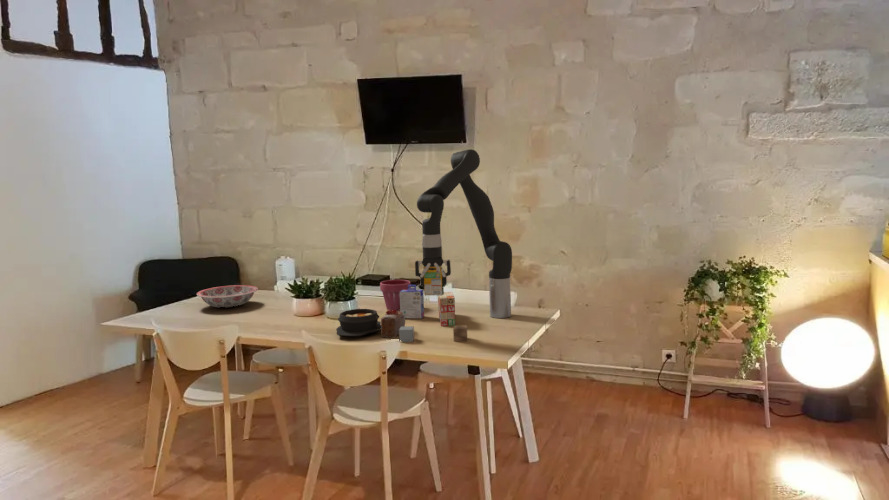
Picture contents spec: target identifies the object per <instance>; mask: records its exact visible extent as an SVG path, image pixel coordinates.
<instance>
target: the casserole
mask: <svg viewBox="0 0 889 500" xmlns="http://www.w3.org/2000/svg"><path fill="white" fill-rule="evenodd" d="M379 319H380V315H379V314H378V312H377V310H374V309H371V308H355V309H354V308H353V309H349V310H344V311H341V312H340V314H339V317H338V318H337V322H339V324H340V325H339V326H338V327H337V328H336V330H335V331H336V335H337V336H342V337H361V336H366V335H371V334H372V333H375V332H376V331H380V330H381V321H379Z"/></svg>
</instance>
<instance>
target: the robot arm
mask: <svg viewBox="0 0 889 500" xmlns="http://www.w3.org/2000/svg"><path fill="white" fill-rule="evenodd" d="M480 162H481V158H480V155H479V153H478V152H477V150H475V149H472V148H471V149H470V148H469V149H464V150H461V151H456V152H454V153H453V154H452V155H451V156H450V166H451V167H452V168H451V169H452V170H449V172H447V173H445V174H444V175H442V176H441V177H440V178H439V180H437V182H436V183H434V185H433V186H432V187H430V188H428V189H427V190H425V191H424V192H422V193H421V194H420V195H419V196H418V198H417V201H416V208H417V210H418V211H420V212H421V213H425V214H426V213H428V214H429V213H430V214H431V215H430V217H429V218H425V219H424V220H422V222H421V223H422V224H421V226H422V229H421V230H422V238H421V239H422V243H421V246H422V260H415V262H414V267H415V269H414V270H415V271H414V272H415V276H416V277H419V278H420V286H421V287H422V288H424V274H425V273H426V271H427V270H428V268H429V267H436V268H437V269H438V271H439V272H440V267H441V272H442V276H443V287H445V286H446V285H447V282H448V281H447V280H448V279H447V277H448V276H451V274H452V270H451V269H452V268H451V259H447V260H444V259H443V247H442V245H443V244H442V242H443V241H442V235H441V221H442V215H443V211H444V208H445V207H444V206H445V202H444V201H445V200H446V199H447V198H448V197H449V196H450V194H452V192H453V191H454V190H455V189H456V188H457V186H459V185H460V187H461V188H462V191H463V194H464V196H465V198H466V201H467V204H468V207H469V209H470V212H471V215H472V217H473V219H474V222H475V224H476V227H477V230H478V233H479V234H480V238H481V241H482V245H483V249H484V252H485V255H486V257H487V258H488V259H489V260H490V261H492V269H491V270H489V271H488V289H489V316H490V317H491V318H493V319H495V318H496V319H503V318H506V319H507V318H511V317H512V302H511V301H512V300H511V296H512V295H511V273H512V269H513V251H512V246H511V245H510V244H509V243H508V242H506V241H502V240H501V239H500V238H499V236H498V234H497V231H496V227H495V211H494V208H493V204H492V203H491V200H490V197H489V196H488V194H487V193H486V192H485V191H484V190H483V189H481V188H480V186H478V185H477V184H476V182H475V181H474V180H473V177H472V176H471V174H472V173H473V172H475V171H476V170H477V169H478V168H479V167H480ZM421 264H422V265H423V267H425V269H424V268H423V271H421V273H420V267H421V266H422V265H421ZM443 264H444V265H445V266H446V271H445V270H444V269H443V267H442V266H443ZM436 268H429V270H436Z"/></svg>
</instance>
